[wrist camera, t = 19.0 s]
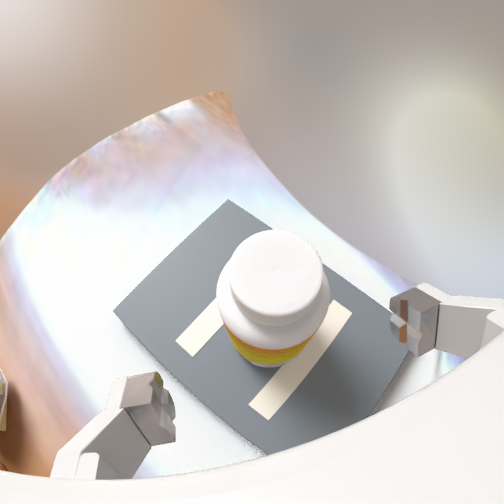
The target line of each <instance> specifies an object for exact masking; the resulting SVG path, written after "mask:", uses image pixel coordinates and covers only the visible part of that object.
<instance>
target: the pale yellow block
mask: <svg viewBox="0 0 504 504" xmlns="http://www.w3.org/2000/svg"><path fill="white" fill-rule="evenodd" d="M7 388H8V382H7V380H6V378H5V376H4V374H3V372H2V370H1V369H0V431H6V416H7V399H6V398H7Z"/></svg>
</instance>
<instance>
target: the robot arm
mask: <svg viewBox="0 0 504 504" xmlns="http://www.w3.org/2000/svg"><path fill="white" fill-rule="evenodd" d="M390 310H391V311H392V312H393V314H392V316H391V318H390V329H391V332H392V334H393V336H394V337H395V339H396V340H397V341H399V342H401V343H406V348H407V349H408V350H409V351H410V352H411V353H413V354H414V355H415V356H416V357H419V356H421V355H423V354H425V353H427V352H428V351H430V350H432V349H434V348H435V349H437V350H441V351H444V352H448V353H451V354H454V355H458V356H461V357H465V358H468V359H467V360H465V361H464V362H463V363H461V364H460V365H458V366H457V367H455V368H454V369H452V370H451V371H449V372H448V373H446V374H445V375H443V376H442V377H440V378H439V379H437V380H435V381H434V382H432V383H431V384H429V385H427V386H426V387H424V388H422V389H421V390H419V391H417V392H415V393H414V394H412V395H410V396H408V397H407V398H405V399H403V400H401V401H399V402H397V403H396V404H394V405H392V406H390V407H388V408H386V409H384V410H382V411H380V412H378V413H376V414H374V415H372V416H370V417H368V418H366V419H363V420H361V421H359V422H357V423H355V424H352V425H350V426H348V427H345V428H343V429H341V430H338V431H336V432H333V433H331V434H328V435H326V436H323V437H321V438H318V439H315V440H313V441H310V442H307V443H304V444H302V445H299V446H296V447H293V448H290V449H287V450H283V451H280V452H277V453H274V454H270V455H267V456H263V457H260V458H256V459H252V460H248V461H244V462H240V463H236V464H232V465H227V466H223V467H218V468H213V469H208V470H202V471H196V472H190V473H184V474H176V475H169V476H160V477H150V478H137V479H132V477H133V476H134V474H135V472H136V471H137V469H138V468H139V466H140V465H141V463H142V461H143V460H144V458H145V457H146V455H147V454H148V452H149V450H150V449H151V446H154V445H160V444H166V443H171V442H175V425H174V424H173V422H172V421H173V420H174V418H175V407H174V403H173V400H172V397H171V395H170V393H169V391H167V390H166V389H164V388H163V380H162V378H161V376H160V374H159V373H158V372H152V373H146V374H141V375H135V376H129V377H124V378H119V379H116V380H114V381H113V385H112V388H111V392H110V395H109V399H108V402H107V406H106V409H105V411H101V412H100V413H99V414H98V415H97V416H96V417H95V418H94V419H92V420H91V421H90V422H89V423H88V424H87V425H86V426H85V427H84V428H83V429H82V430H81V431H80V432H79V433H78V434H76V435H75V436H74V437H73V438H72V439H71V440H70V441H69V442H68V443H67V444H66V445H65V446H64V447H63V448H61V449H60V450H59V451H58V453H57V456H56V459H55V462H54V465H53V469H52V472H51V475H50V477H41V476H33V475H25V474H19V473H13V472H7V471H2V470H0V504H504V299H495V298H481V297H467V296H453V297H451V296H449V295H448V294H446V293H444V292H442V291H440V290H438V289H436V288H435V287H433V286H431V285H429V284H427V283H421V284H419V285H417V286H415V287H413V288H412V289H409V290H407V291H405V292H403V293H401V294H398V295H396V296H394V297H392V298H391V299H390Z"/></svg>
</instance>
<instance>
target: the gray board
mask: <svg viewBox="0 0 504 504" xmlns="http://www.w3.org/2000/svg"><path fill="white" fill-rule="evenodd" d="M267 230H273V229H272V228H270V227H269V226H267V225H266V224H264V223H263V222H261V221H260V220H259V219H257V218H256V217H254V216H253V215H251V214H250V213H248V212H247V211H245V210H244V209H242V208H241V207H239V206H238V205H236V204H235V203H233V202H231V201H230V200H227V201H226V202H225V203H224V204H223V205H221V206H220V207H219V208H218V209H217V210H216V211H215V212H214V213H213V214H212V215H210V216H209V217H208V218H207V219H206V220H205V221H204V222H203V223H202V224H201V225H200V226H199V227H198V228H196V229H195V230H194V231H193V232H192V233H191V234H190V235H189V236H188V237H187V238H186V239H185V240H184V241H183V242H182V243H181V244H180V245H179V246H177V247H176V248H175V249H174V250H173V251H172V252H171V253H170V254H169V255H168V256H167V257H166V258H165V259H164V260H163V261H162V262H161V263H160V264H159V265H158V266H157V267H156V268H155V269H154V270H153V271H152V272H151V273H150V274H149V275H148V276H147V277H146V278H145V279H144V280H143V281H142V282H141V283H140V284H139V285H138V286H137V287H136V288H135V289H134V290H133V291H132V292H131V293H130V294H129V295H128V296H127V297H126V298H125V299H124V300H123V301H122V302H121V303H120V304H119V305H118V306H117V307H116V308H115V309H114V310H113V312H114V313H115V314H116V315H117V316H118V317H119V319H120V320H121V321H122V322H123V323H124V324H125V325H126V327H127V328H128V329H129V330H130V331H131V332H132V333H133V334H134V335H135V337H136V338H137V339H138V340H139V341H140V342H141V343H142V344H143V345H144V346H145V347H146V348H147V349H148V350H149V351H150V353H151V354H152V355H153V356H154V357H155V358H156V359H157V360H158V361H159V362H160V363H161V364H162V365H163V366H164V367H165V368H166V369H167V370H168V371H169V372H170V373H171V374H172V375H173V376H174V377H175V378H177V379H178V380H179V381H180V382H181V383H182V384H183V385H184V386H185V387H186V388H187V389H188V390H189V391H190V392H191V393H193V394H194V395H195V396H196V397H197V398H198V399H199V400H200V401H202V402H203V403H204V404H205V405H206V406H207V407H208V408H210V409H211V410H212V411H213V412H214V413H215V414H217V415H218V416H219V417H220V418H221V419H222V420H224V421H225V422H226V423H227V424H229V425H230V426H231V427H232V428H234V429H235V430H236V431H237V432H239V433H240V434H241V435H242V436H244V437H245V438H246V439H248V440H249V441H250V442H251V443H253V444H254V445H255V446H257V447H258V448H260V449H261V450H262V451H264V452H265V453H266V454H268V455H270V454H274V453H277V452H280V451H283V450H287V449H290V448H293V447H296V446H299V445H302V444H304V443H307V442H310V441H313V440H315V439H318V438H321V437H323V436H326V435H328V434H331V433H333V432H336V431H338V430H341V429H343V428H345V427H348V426H350V425H352V424H355V423H357V422H359V421H361V420H363V419H366V418H367V416H368V415H369V413H370V412H371V410H372V409H373V408H374V406H375V405H376V403H377V402H378V400H379V399H380V397H381V396H382V394H383V393H384V391H385V390H386V388H387V386H388V385H389V383H390V382H391V380H392V378H393V377H394V375H395V373H396V372H397V370H398V368H399V367H400V365H401V363H402V362H403V360H404V358H405V356H406V355H407V353H408V351H409V350H408V349H407V348H406V343H401V342H399V341H397V340H396V339H395V337H394V336H393V334H392V332H391V329H390V318H391V316H392V313H391V312H390V311H388V310H387V309H386V308H384V307H383V306H381V305H380V304H379V303H377V302H376V301H375V300H373V299H372V298H370V297H369V296H368V295H366V294H365V293H363V292H362V291H361V290H359V289H358V288H357V287H355V286H354V285H352V284H351V283H350V282H348V281H347V280H345V279H344V278H343V277H341V276H340V275H338V274H337V273H335V272H334V271H333V270H331V269H330V268H328V267H327V266H326V265H324V264H323V263H322V265H323V270H324V272H325V274H326V276H327V279H328V282H329V287H330V303H329V308H328V311H327V314H326V316H325V318H324V320H323V322H322V324H321V326H320V327H319V329H318V330H317V331H316V333H315V334H314V335H313V337H312V338H311V340H310V341H309V342H308V344H307V345H306V346H305V347H304V349H303V350H302V351H301V353H300V354H299V355H298V356H297V357H296V358H294V359H293V360H292V361H290V362H288V363H286V364H284V365H281V366H278V367H260V366H257V365H254V364H252V363H250V362H248V361H246V360H245V359H244V358H243V357H242V356H241V355H240V354H239V353H238V352H237V351H236V349H235V348H234V346H233V344H232V342H231V339H230V337H229V335H228V332H227V330H226V327H225V325H224V323H223V320H222V318H221V316H220V313H219V309H218V305H217V298H216V290H217V284H218V280H219V277H220V274H221V272H222V270H223V269H224V267H225V265H226V264H227V263H228V261H229V260H230V259H231V257H232V255H233V253H234V251H235V250H236V249H237V247H238V246H239V245H240V244H241V243H242V242H243V241H244V240H246V239H247V238H248V237H250V236H252V235H254V234H256V233H259V232H262V231H267Z"/></svg>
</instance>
